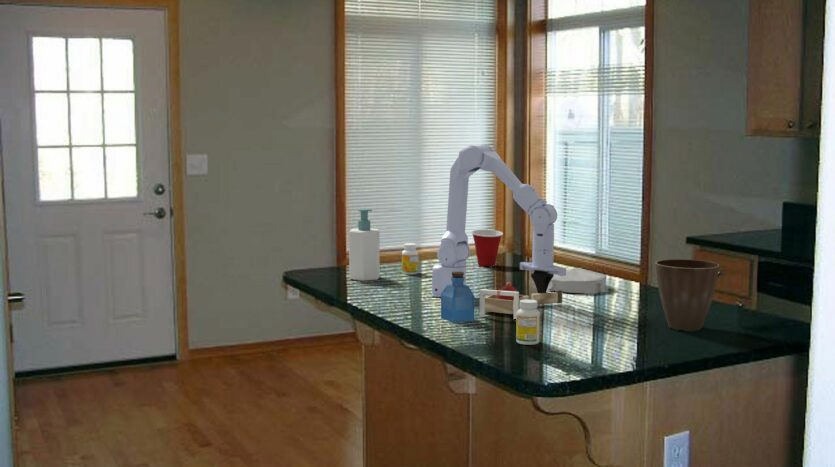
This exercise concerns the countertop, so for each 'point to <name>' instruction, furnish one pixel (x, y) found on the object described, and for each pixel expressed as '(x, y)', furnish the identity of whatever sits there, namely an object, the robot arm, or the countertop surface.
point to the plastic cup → (486, 246)
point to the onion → (507, 288)
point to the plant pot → (686, 291)
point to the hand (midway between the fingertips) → (541, 298)
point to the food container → (579, 282)
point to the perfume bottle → (457, 300)
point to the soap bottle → (364, 250)
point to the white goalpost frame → (498, 292)
